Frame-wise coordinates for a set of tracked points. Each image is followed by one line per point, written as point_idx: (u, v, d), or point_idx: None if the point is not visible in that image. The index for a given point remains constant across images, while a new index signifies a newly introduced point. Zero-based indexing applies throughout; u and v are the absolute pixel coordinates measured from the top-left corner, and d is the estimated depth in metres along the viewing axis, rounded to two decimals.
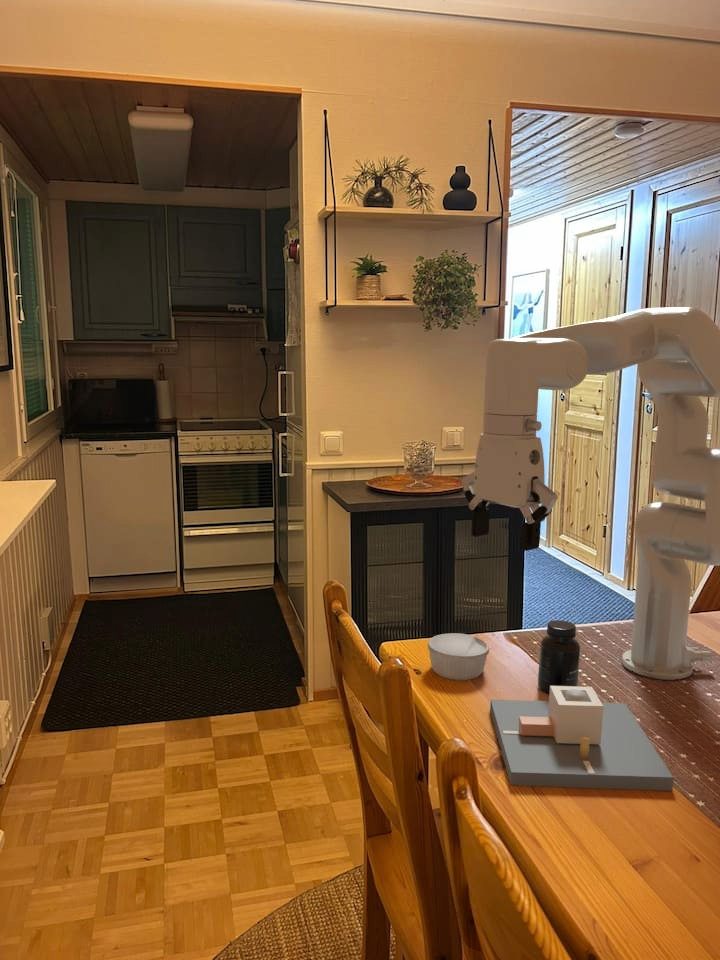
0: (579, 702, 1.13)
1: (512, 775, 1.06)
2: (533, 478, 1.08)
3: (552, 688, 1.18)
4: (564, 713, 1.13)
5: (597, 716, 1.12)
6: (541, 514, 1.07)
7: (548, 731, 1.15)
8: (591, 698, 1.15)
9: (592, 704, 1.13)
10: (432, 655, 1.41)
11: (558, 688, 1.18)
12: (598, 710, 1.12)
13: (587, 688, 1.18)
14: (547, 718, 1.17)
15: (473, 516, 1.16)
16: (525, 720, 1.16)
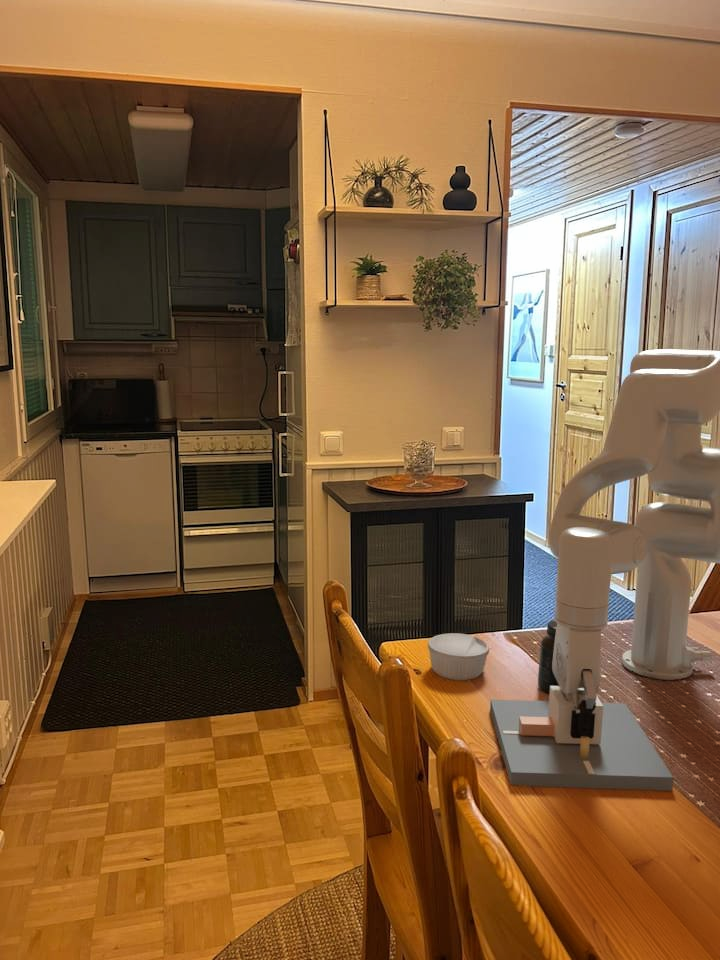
0: (579, 702, 1.13)
1: (512, 775, 1.06)
2: None
3: (552, 688, 1.18)
4: (564, 713, 1.13)
5: (597, 716, 1.12)
6: None
7: (548, 731, 1.15)
8: None
9: None
10: (432, 655, 1.41)
11: (558, 688, 1.18)
12: (598, 710, 1.12)
13: None
14: (547, 718, 1.17)
15: None
16: (525, 720, 1.16)
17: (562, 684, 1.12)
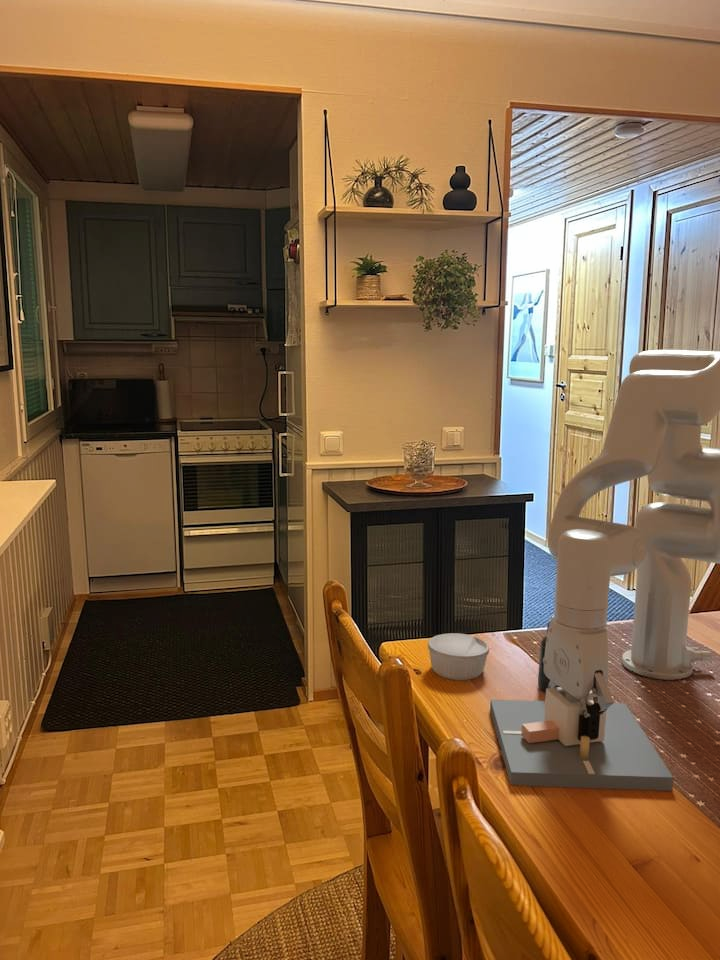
0: None
1: (512, 775, 1.06)
2: None
3: (550, 691, 1.17)
4: (572, 715, 1.12)
5: None
6: None
7: (553, 735, 1.14)
8: None
9: None
10: (432, 655, 1.41)
11: (555, 690, 1.17)
12: None
13: None
14: (548, 722, 1.16)
15: None
16: (530, 727, 1.14)
17: (572, 689, 1.11)
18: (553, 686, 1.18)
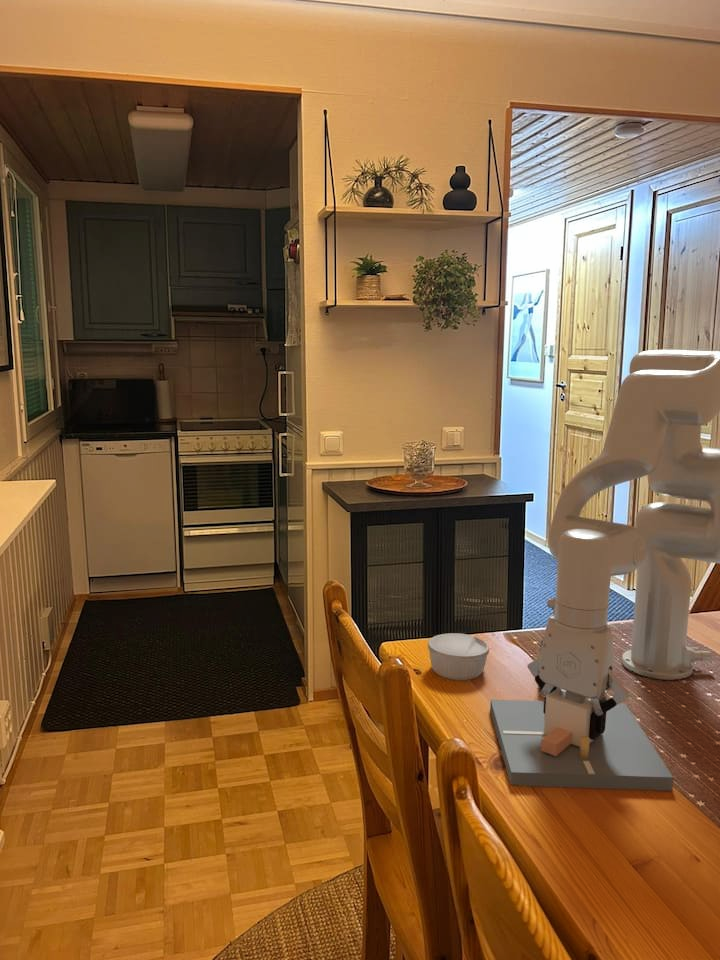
0: (589, 699, 1.14)
1: (512, 775, 1.06)
2: None
3: (552, 697, 1.15)
4: (588, 716, 1.12)
5: None
6: None
7: (569, 741, 1.13)
8: None
9: None
10: (432, 655, 1.41)
11: (555, 695, 1.15)
12: None
13: None
14: (557, 729, 1.14)
15: None
16: (552, 740, 1.11)
17: (586, 690, 1.11)
18: (549, 691, 1.17)
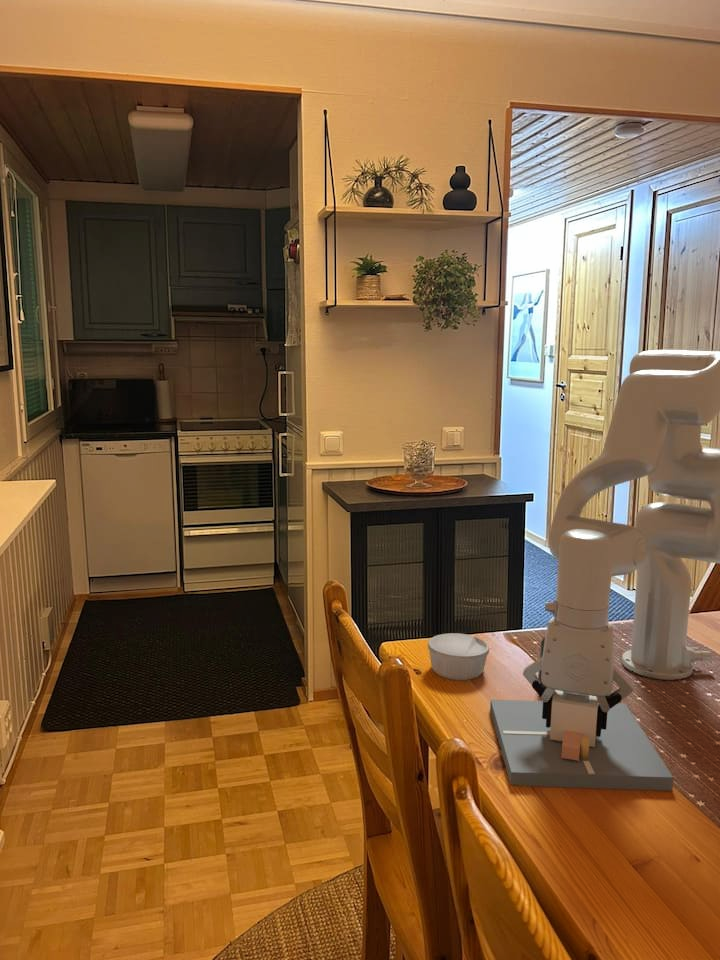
0: (590, 697, 1.15)
1: (512, 775, 1.06)
2: None
3: (558, 701, 1.13)
4: None
5: None
6: None
7: (580, 742, 1.12)
8: None
9: None
10: (432, 655, 1.41)
11: (559, 699, 1.14)
12: None
13: None
14: (567, 733, 1.13)
15: None
16: (572, 745, 1.09)
17: (596, 689, 1.11)
18: (550, 695, 1.15)
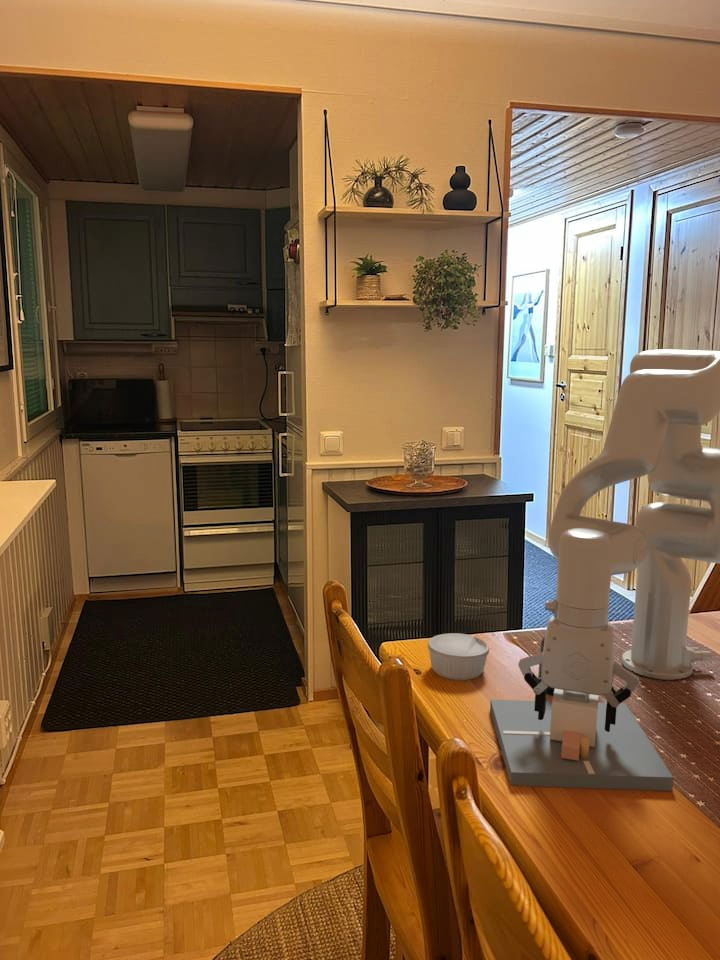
0: (590, 697, 1.15)
1: (512, 775, 1.06)
2: None
3: (558, 701, 1.13)
4: None
5: None
6: None
7: (580, 742, 1.12)
8: None
9: None
10: (432, 655, 1.41)
11: (559, 699, 1.14)
12: None
13: None
14: (567, 732, 1.13)
15: None
16: (571, 745, 1.09)
17: (596, 688, 1.11)
18: (543, 689, 1.16)
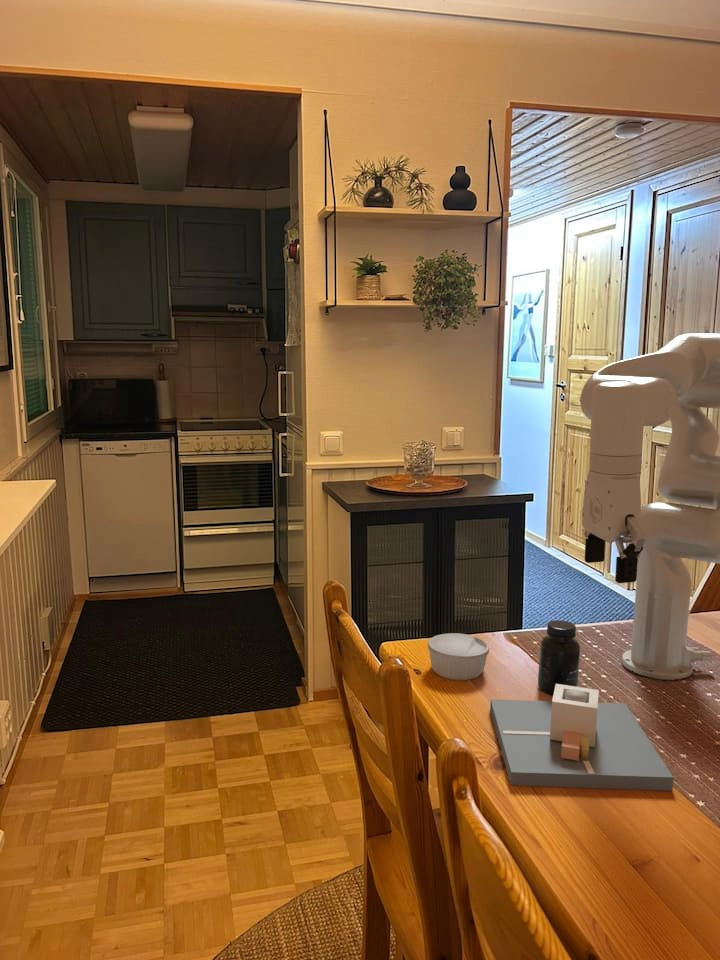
0: (590, 697, 1.15)
1: (512, 775, 1.06)
2: None
3: (558, 701, 1.13)
4: None
5: None
6: None
7: (580, 742, 1.12)
8: (582, 690, 1.17)
9: (595, 693, 1.16)
10: (432, 655, 1.41)
11: (558, 699, 1.14)
12: None
13: (559, 686, 1.18)
14: (567, 732, 1.13)
15: None
16: (571, 745, 1.09)
17: (604, 534, 1.16)
18: (588, 533, 1.24)
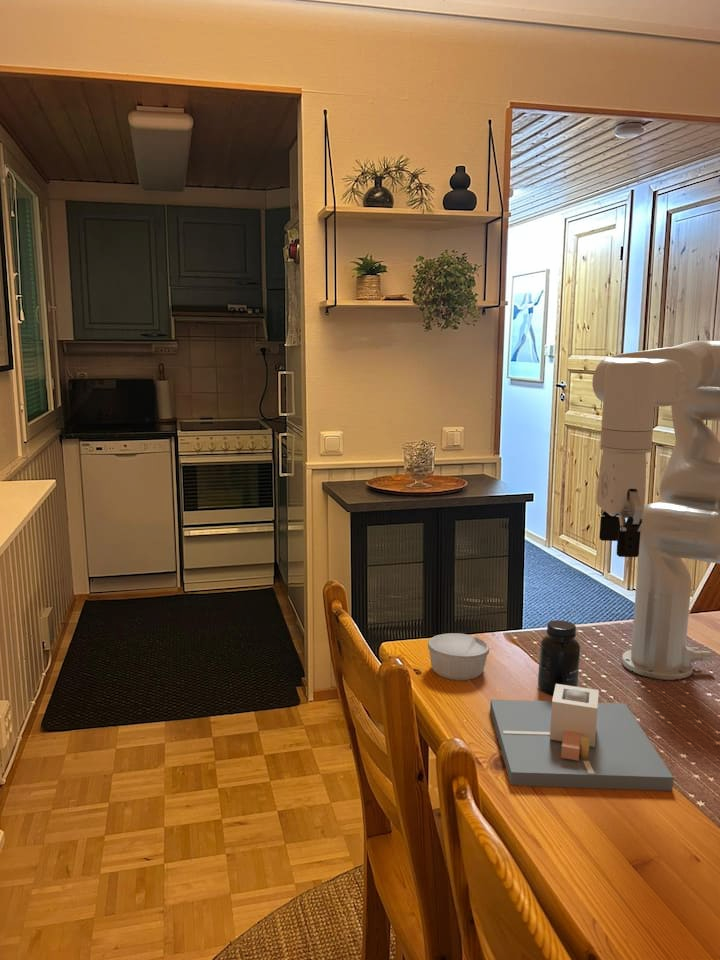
0: (590, 697, 1.15)
1: (512, 775, 1.06)
2: None
3: (558, 701, 1.13)
4: None
5: None
6: None
7: (580, 742, 1.12)
8: (582, 690, 1.17)
9: (595, 693, 1.16)
10: (432, 655, 1.41)
11: (558, 699, 1.14)
12: None
13: (559, 686, 1.18)
14: (567, 732, 1.13)
15: (639, 536, 1.17)
16: (571, 745, 1.09)
17: (608, 507, 1.18)
18: (603, 511, 1.26)
